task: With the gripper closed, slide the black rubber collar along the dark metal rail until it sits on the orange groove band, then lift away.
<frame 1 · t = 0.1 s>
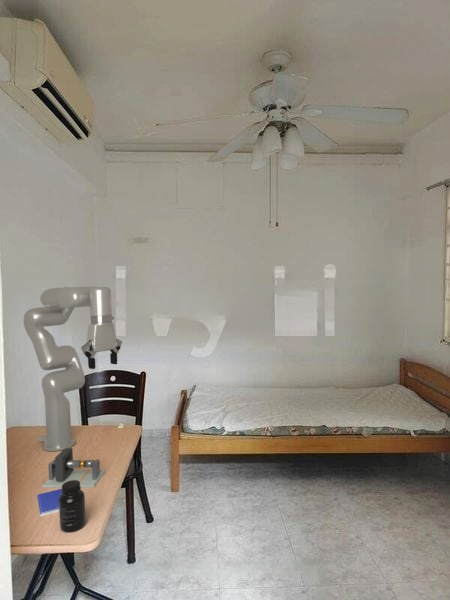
hand: (103, 366, 150), 37 cm above the table, tool pointing down, fingers open, 9 cm apart
supplement bottle: (73, 526, 113), on the table
rail: (74, 468, 140), on the board, point 4 cm above the table
hard drive: (53, 505, 126), on the table
collar: (64, 464, 141), point 5 cm above the table, slide at 0.0 cm
board: (74, 479, 141), on the table
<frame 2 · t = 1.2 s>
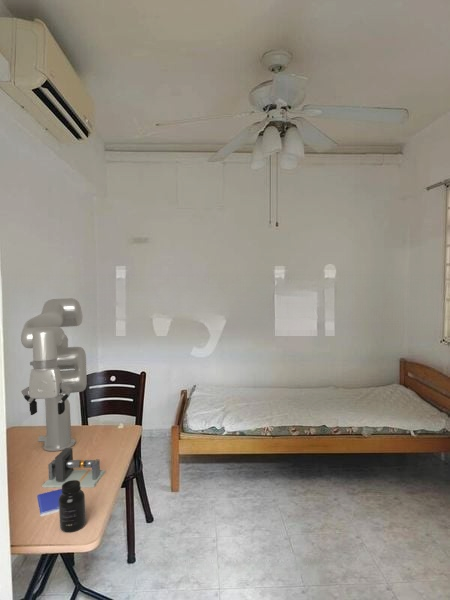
hand: (47, 413, 141), 23 cm above the table, tool pointing down, fingers open, 9 cm apart
nothing on the table moved.
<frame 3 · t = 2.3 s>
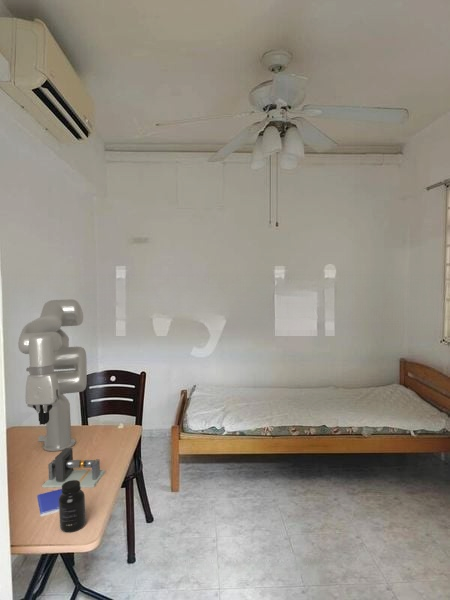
hand: (44, 423, 140), 20 cm above the table, tool pointing down, fingers closed
nothing on the table moved.
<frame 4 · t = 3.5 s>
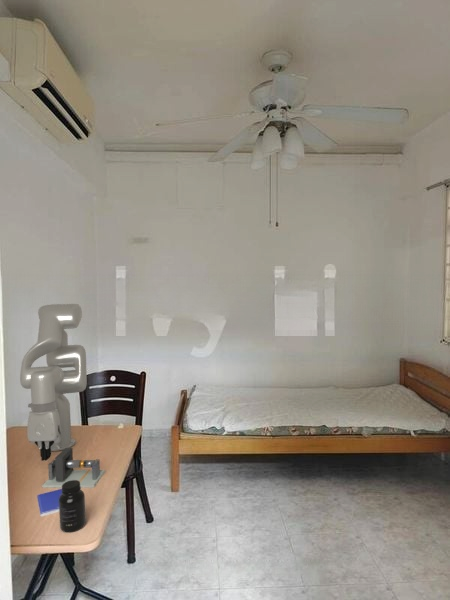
hand: (46, 458, 141), 7 cm above the table, tool pointing down, fingers closed
nothing on the table moved.
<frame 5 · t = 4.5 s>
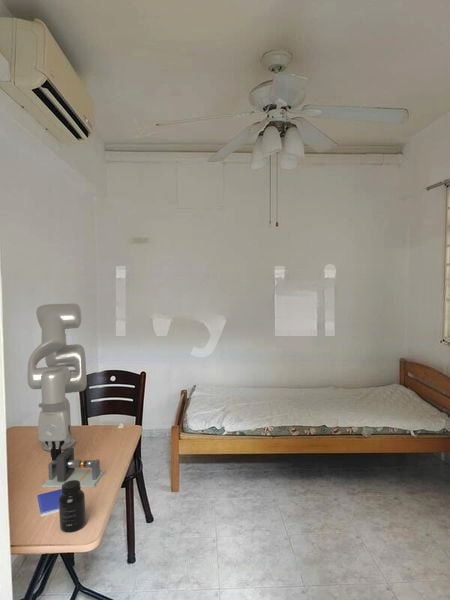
hand: (56, 458, 141), 7 cm above the table, tool pointing down, fingers closed
collar: (65, 464, 141), point 6 cm above the table, slide at 0.4 cm, touching gripper
everything else where it was.
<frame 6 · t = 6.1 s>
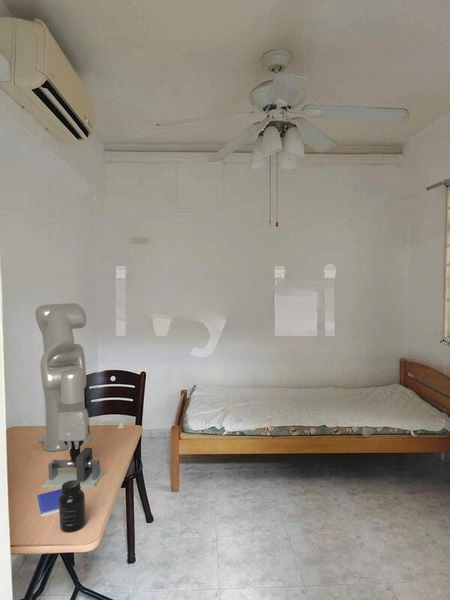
hand: (75, 458, 140), 7 cm above the table, tool pointing down, fingers closed
collar: (84, 463, 140), point 6 cm above the table, slide at 7.2 cm, touching gripper
everything else where it was.
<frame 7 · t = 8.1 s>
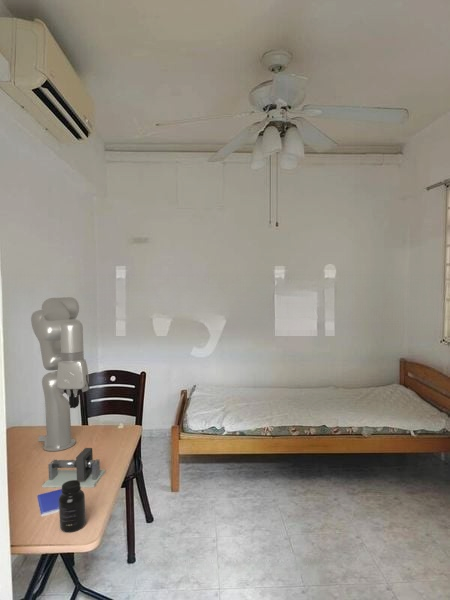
hand: (74, 406, 145), 24 cm above the table, tool pointing down, fingers closed
collar: (84, 463, 140), point 6 cm above the table, slide at 7.2 cm
everything else where it was.
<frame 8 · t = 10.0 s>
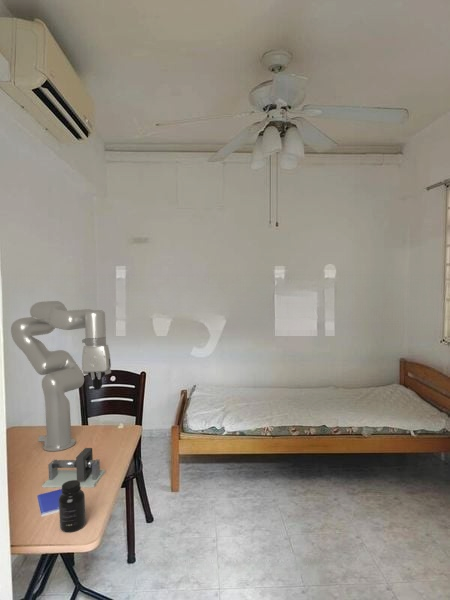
hand: (97, 388, 157), 27 cm above the table, tool pointing down, fingers closed
nothing on the table moved.
at the end: collar slide at 7.2 cm; collar touching nothing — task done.
